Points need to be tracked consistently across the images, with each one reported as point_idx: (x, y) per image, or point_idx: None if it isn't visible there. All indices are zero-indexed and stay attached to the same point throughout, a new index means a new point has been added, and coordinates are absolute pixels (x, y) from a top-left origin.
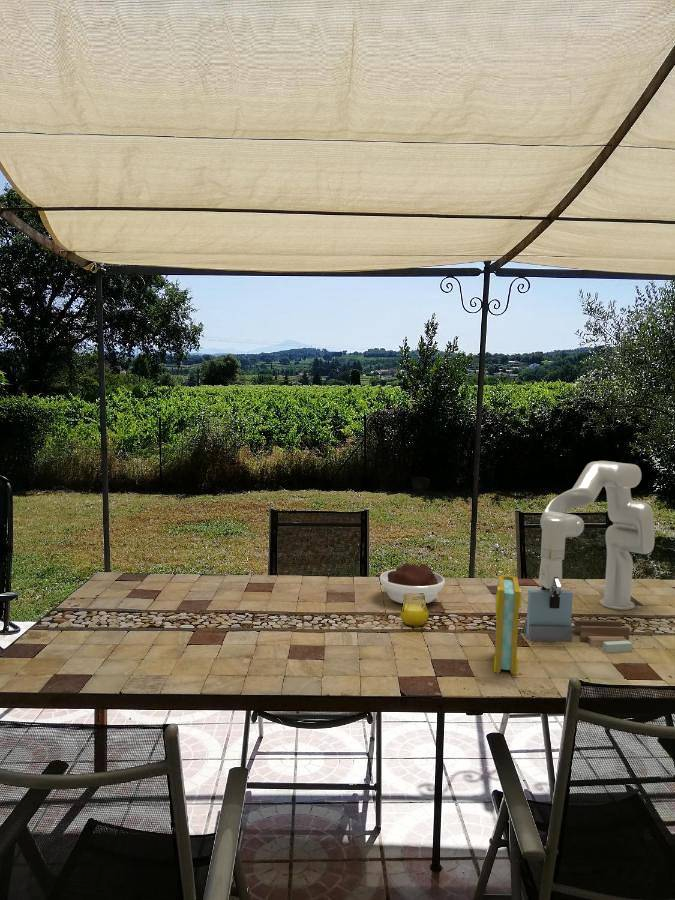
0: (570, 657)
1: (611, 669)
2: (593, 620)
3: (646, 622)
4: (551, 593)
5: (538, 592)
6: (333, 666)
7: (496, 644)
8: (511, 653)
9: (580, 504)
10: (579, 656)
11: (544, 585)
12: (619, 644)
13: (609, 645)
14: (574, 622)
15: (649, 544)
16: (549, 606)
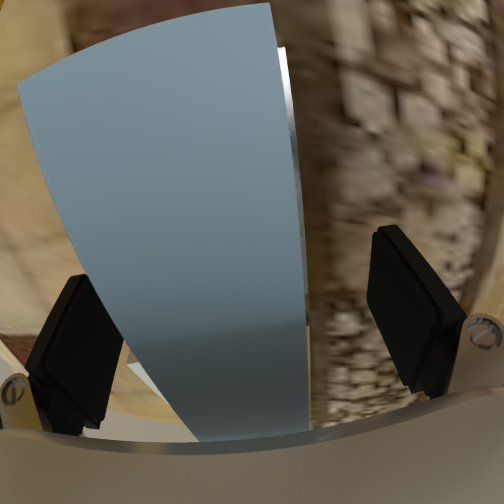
0: (35, 238)
1: (23, 324)
2: (308, 375)
3: (385, 411)
4: (8, 407)
5: (81, 254)
6: None
7: None
8: None
9: None
10: (58, 267)
11: (49, 474)
12: (150, 387)
13: (132, 367)
14: (306, 317)
15: None
16: (72, 280)
